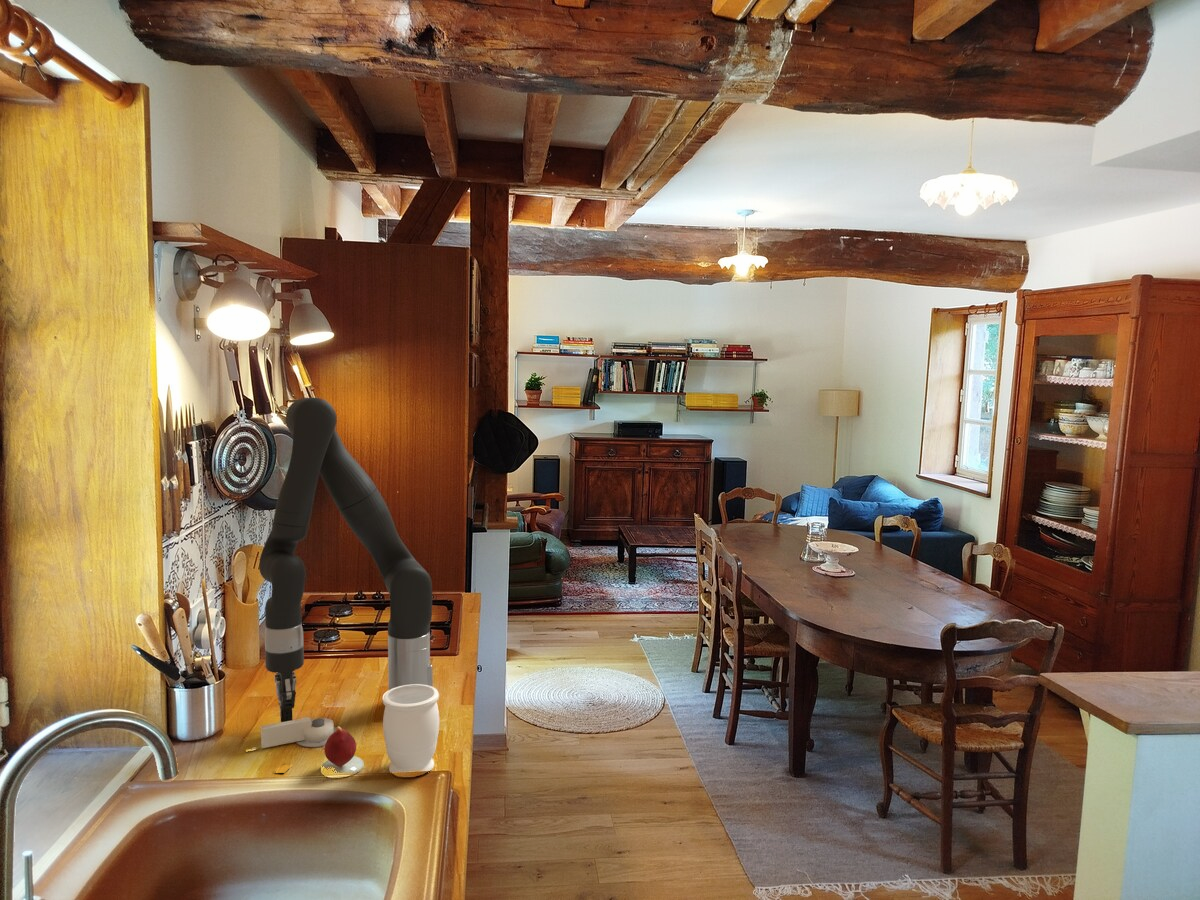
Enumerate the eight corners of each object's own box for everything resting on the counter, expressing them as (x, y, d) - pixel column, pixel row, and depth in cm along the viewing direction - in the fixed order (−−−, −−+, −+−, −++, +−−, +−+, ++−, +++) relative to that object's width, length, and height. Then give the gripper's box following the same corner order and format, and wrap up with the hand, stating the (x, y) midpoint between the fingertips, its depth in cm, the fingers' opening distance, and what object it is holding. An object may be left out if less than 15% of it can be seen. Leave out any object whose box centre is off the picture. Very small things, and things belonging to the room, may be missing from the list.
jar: (395, 788, 148) (394, 710, 146) (375, 764, 156) (374, 691, 154) (448, 771, 154) (448, 697, 152) (426, 749, 162) (425, 679, 161)
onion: (359, 758, 158) (358, 719, 157) (352, 773, 152) (351, 733, 151) (329, 758, 157) (328, 720, 156) (321, 774, 152) (319, 733, 151)
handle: (330, 726, 171) (330, 708, 170) (336, 738, 166) (335, 720, 165) (260, 740, 164) (259, 721, 164) (263, 753, 159) (262, 734, 159)
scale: (336, 724, 173) (336, 722, 173) (352, 759, 158) (352, 757, 158) (243, 742, 164) (243, 740, 164) (251, 781, 149) (251, 779, 149)
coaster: (358, 754, 160) (358, 752, 160) (367, 772, 153) (367, 770, 153) (317, 763, 156) (317, 761, 156) (324, 782, 149) (324, 780, 149)
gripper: (307, 652, 163) (309, 733, 165) (299, 632, 175) (301, 708, 177) (268, 658, 160) (270, 741, 162) (261, 637, 171) (264, 715, 173)
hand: (286, 723), depth 169 cm, fingers closed
